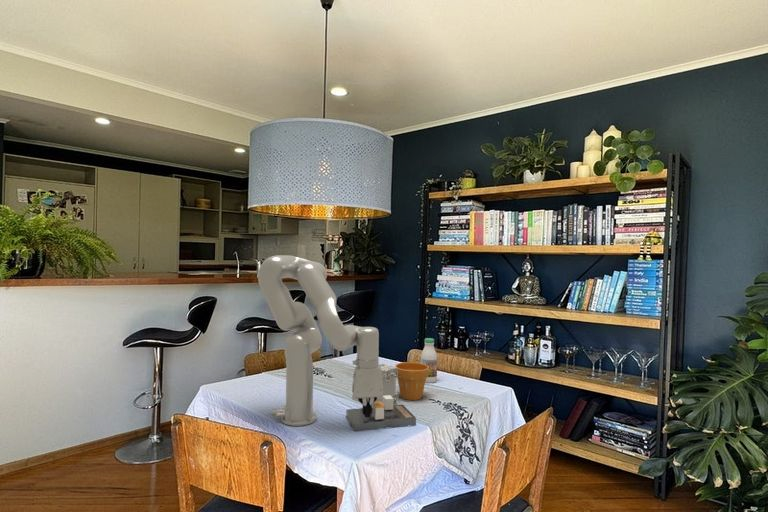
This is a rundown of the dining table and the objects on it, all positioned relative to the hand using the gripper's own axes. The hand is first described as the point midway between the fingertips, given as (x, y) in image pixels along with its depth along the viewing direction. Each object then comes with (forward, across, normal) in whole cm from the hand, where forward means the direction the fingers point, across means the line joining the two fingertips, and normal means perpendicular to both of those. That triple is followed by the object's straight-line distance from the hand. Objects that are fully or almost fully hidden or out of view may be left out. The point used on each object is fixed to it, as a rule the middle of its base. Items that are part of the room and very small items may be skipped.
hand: (367, 415), depth 154 cm
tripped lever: (+1, +4, 0) cm, 4 cm away
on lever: (+1, +10, +8) cm, 13 cm away
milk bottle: (+4, +42, +46) cm, 63 cm away
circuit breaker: (+4, +10, +22) cm, 25 cm away
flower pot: (+4, +26, +26) cm, 37 cm away
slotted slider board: (+4, +6, +4) cm, 8 cm away
